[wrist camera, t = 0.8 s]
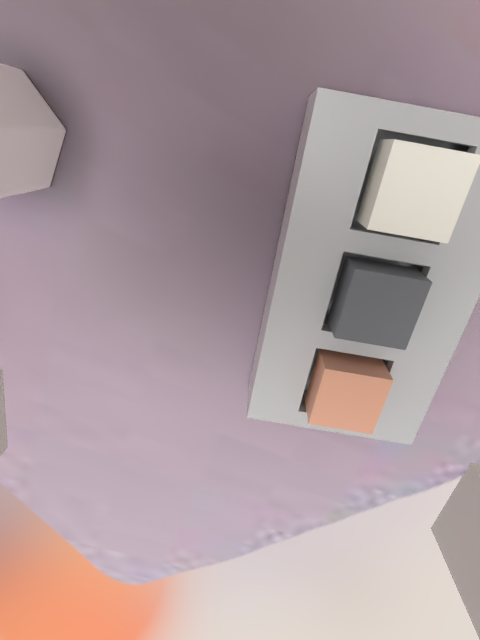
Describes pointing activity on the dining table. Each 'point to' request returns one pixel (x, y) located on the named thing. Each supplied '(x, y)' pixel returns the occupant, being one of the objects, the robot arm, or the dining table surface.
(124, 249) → the dining table surface
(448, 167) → the ivory key
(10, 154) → the jar
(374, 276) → the charcoal key
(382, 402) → the terracotta key
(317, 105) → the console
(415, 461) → the dining table surface
